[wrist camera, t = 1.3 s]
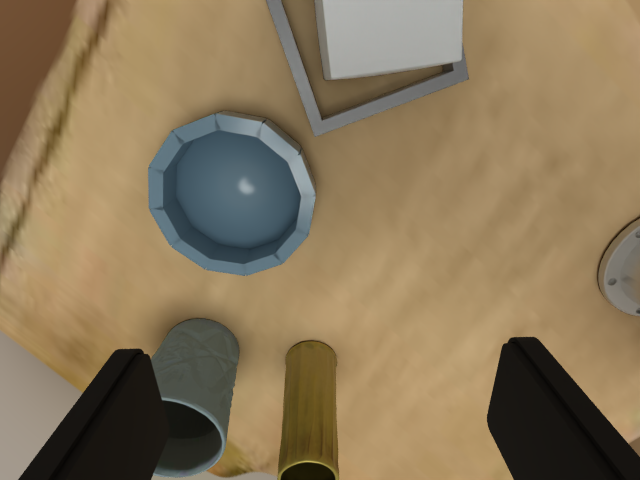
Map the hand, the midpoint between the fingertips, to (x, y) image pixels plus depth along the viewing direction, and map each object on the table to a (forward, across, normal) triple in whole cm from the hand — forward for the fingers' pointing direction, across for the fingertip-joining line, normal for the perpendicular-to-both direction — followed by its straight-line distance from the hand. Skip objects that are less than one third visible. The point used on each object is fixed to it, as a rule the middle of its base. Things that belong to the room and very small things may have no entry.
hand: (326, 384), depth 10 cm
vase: (+27, +2, +23) cm, 35 cm away
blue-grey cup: (+27, +14, +21) cm, 37 cm away
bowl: (+26, +8, +2) cm, 28 cm away
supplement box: (+27, -4, -11) cm, 29 cm away
